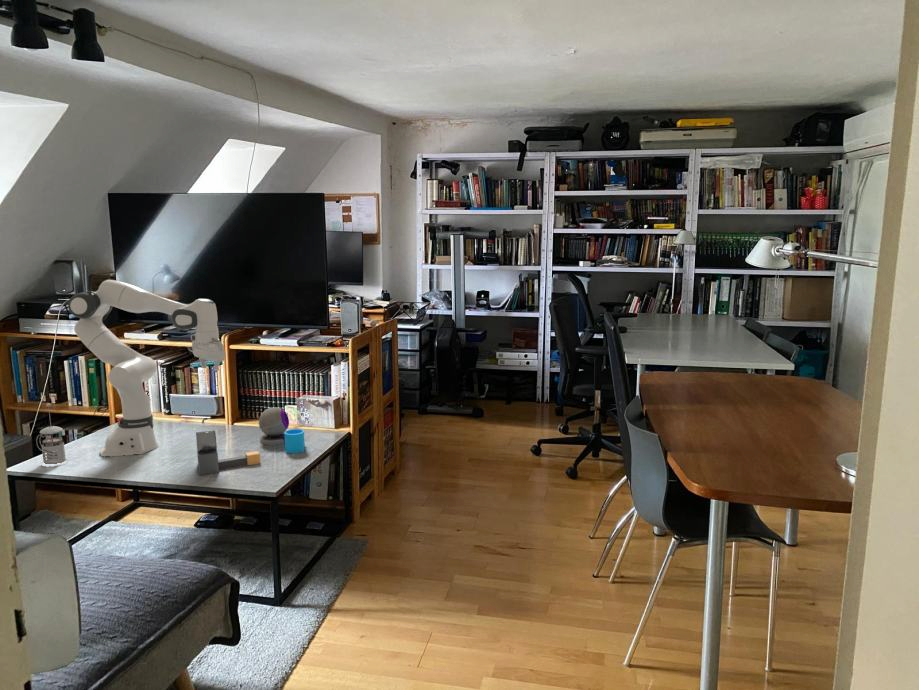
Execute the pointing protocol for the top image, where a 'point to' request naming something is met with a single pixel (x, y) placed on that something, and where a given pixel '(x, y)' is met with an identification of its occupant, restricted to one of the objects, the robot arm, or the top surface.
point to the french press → (56, 452)
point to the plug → (240, 460)
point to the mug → (294, 441)
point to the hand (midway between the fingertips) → (210, 369)
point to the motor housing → (207, 452)
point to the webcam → (273, 425)
